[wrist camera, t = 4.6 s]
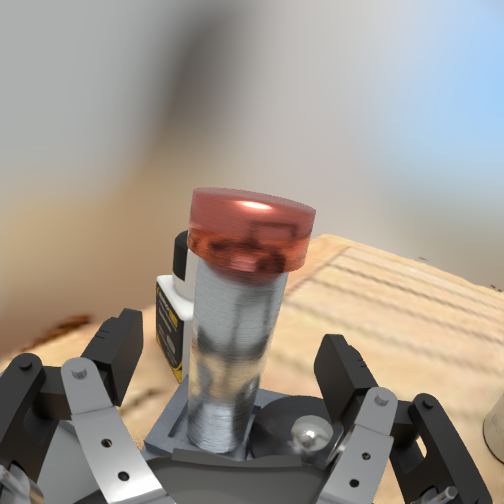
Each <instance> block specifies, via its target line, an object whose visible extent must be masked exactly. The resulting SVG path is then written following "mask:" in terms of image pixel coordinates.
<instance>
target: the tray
mask: <svg viewBox="0 0 504 504" xmlns="http://www.w3.org/2000/svg"><path fill="white" fill-rule="evenodd" d="M5 370H6V369H5ZM5 370H4V371H5ZM4 371H3V372H1V373H0V377H1V376H2V374H3V373H4ZM37 485H38V486H39V488H40V489H41V491H42V493H43V496H44V504H73V503H75V502H76V501H78V500H80V499H82V498H84V497H86V496H87V495H89V494H91V493H93V492H94V491H96V490H98V489H100V487H99V485H98V483H97V481H96V479H95V477H94V475H93V472H92V470H91V468H90V466H89V463H88V461H87V459H86V456H85V454H84V451H83V449H82V446H81V444H80V441H79V438H78V436H77V433H76V430H75V427H74V424H73V421H69V420H60V421H59V423H58V426H57V428H56V431H55V433H54V436H53V438H52V441H51V444H50V446H49V449H48V452H47V454H46V457H45V460H44V463H43V466H42V469H41V472H40V475H39V478H38V481H37Z"/></svg>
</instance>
